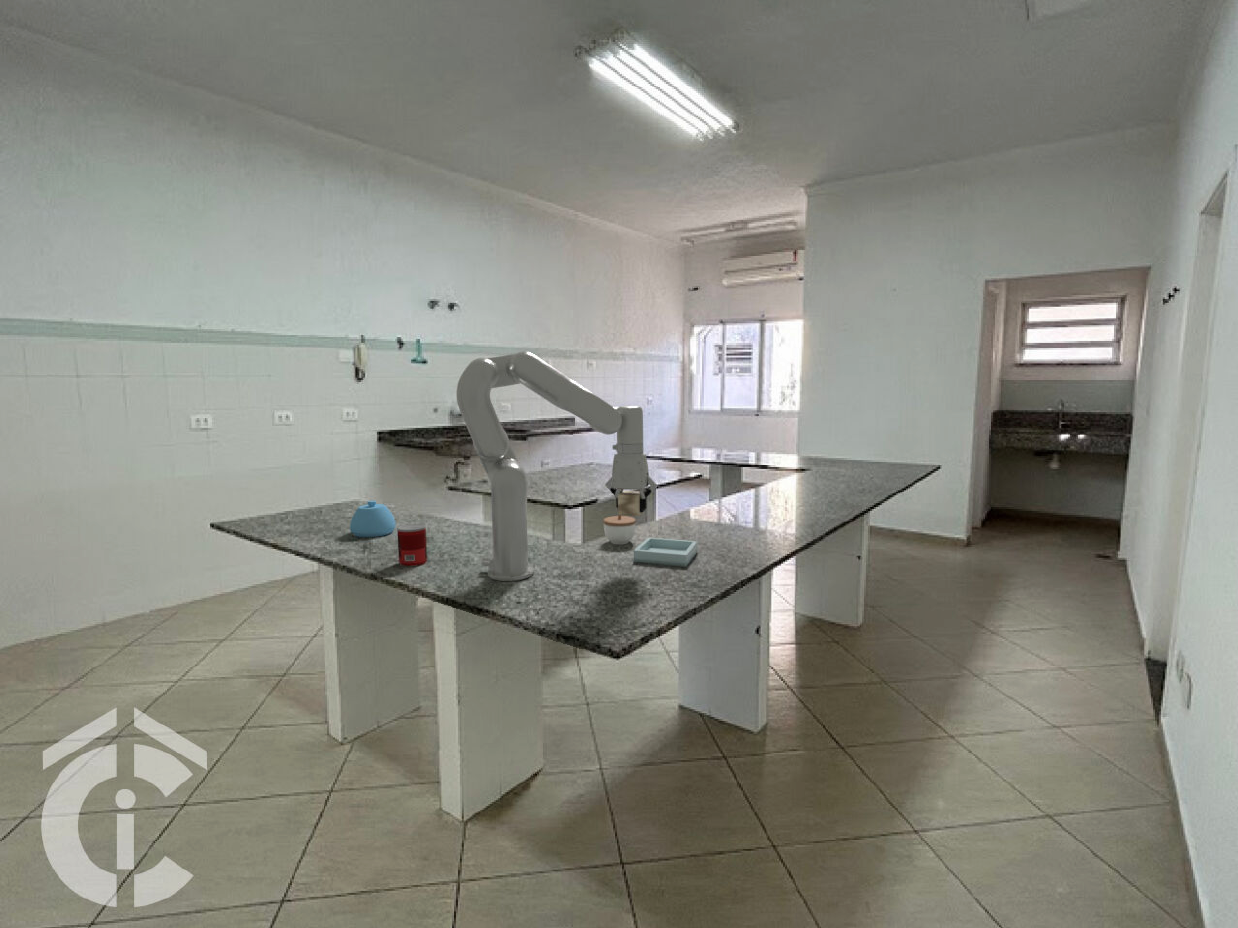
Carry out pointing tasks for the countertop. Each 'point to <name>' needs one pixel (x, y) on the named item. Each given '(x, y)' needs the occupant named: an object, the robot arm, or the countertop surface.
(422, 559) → the canned food
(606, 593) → the countertop surface
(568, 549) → the countertop surface
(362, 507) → the sugar bowl
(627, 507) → the birch block
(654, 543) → the teal tray
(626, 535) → the lidded jar
